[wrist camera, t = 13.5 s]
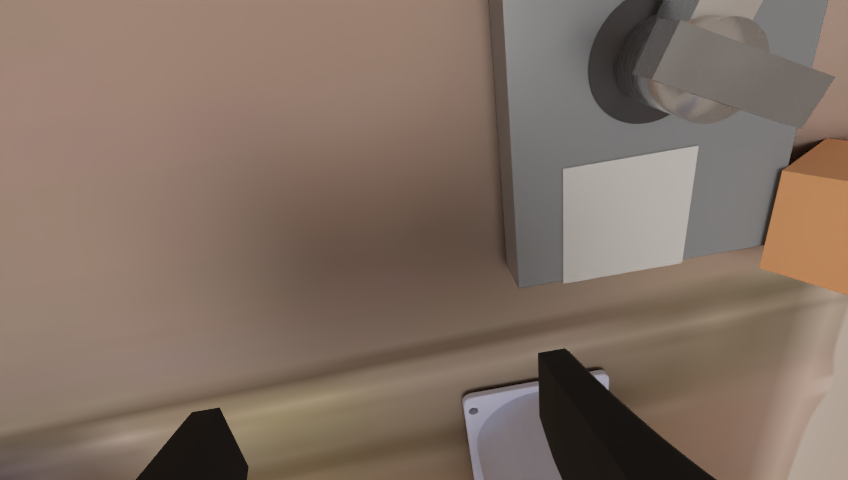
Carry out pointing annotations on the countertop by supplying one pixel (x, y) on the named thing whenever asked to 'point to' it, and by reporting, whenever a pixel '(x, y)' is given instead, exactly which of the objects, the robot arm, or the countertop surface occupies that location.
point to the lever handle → (714, 65)
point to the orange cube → (812, 219)
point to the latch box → (624, 146)
